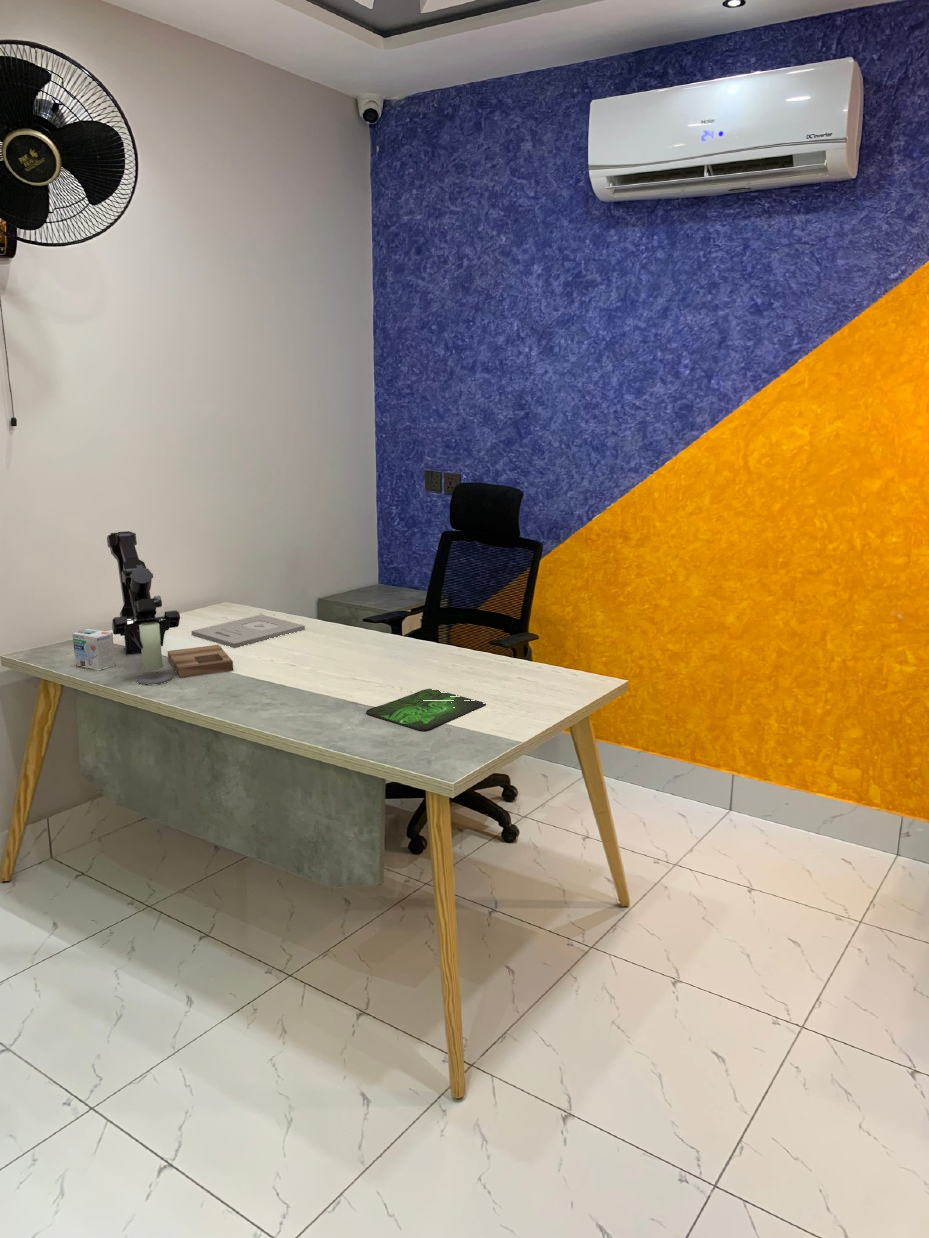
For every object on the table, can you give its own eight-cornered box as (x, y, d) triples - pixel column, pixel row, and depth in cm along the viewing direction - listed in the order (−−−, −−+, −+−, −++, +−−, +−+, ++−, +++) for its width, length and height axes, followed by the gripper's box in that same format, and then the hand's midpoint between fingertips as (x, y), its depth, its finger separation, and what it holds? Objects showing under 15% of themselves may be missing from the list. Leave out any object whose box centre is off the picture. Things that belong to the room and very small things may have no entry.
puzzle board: (168, 660, 289) (167, 651, 288) (219, 653, 296) (218, 644, 295) (179, 677, 272) (178, 668, 271) (233, 670, 279) (232, 661, 278)
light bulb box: (75, 666, 283) (71, 632, 280) (92, 660, 289) (89, 627, 286) (99, 671, 278) (95, 637, 275) (116, 665, 284) (113, 632, 281)
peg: (147, 664, 272) (143, 621, 269) (165, 664, 272) (161, 622, 268) (140, 669, 267) (136, 626, 263) (158, 670, 266) (154, 627, 263)
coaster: (134, 677, 272) (133, 674, 272) (168, 672, 277) (168, 669, 276) (138, 687, 264) (138, 684, 263) (174, 682, 268) (174, 679, 268)
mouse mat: (429, 688, 263) (429, 685, 263) (490, 704, 250) (490, 701, 250) (362, 715, 243) (362, 711, 242) (424, 734, 229) (424, 730, 229)
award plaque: (191, 636, 317) (191, 630, 317) (261, 620, 340) (261, 614, 339) (234, 649, 302) (234, 643, 302) (305, 631, 324) (304, 625, 324)
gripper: (109, 590, 262) (119, 637, 256) (176, 583, 271) (187, 628, 264) (108, 611, 271) (117, 656, 264) (172, 604, 280) (183, 647, 273)
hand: (151, 646), depth 266 cm, fingers closed on peg, 5 cm apart
